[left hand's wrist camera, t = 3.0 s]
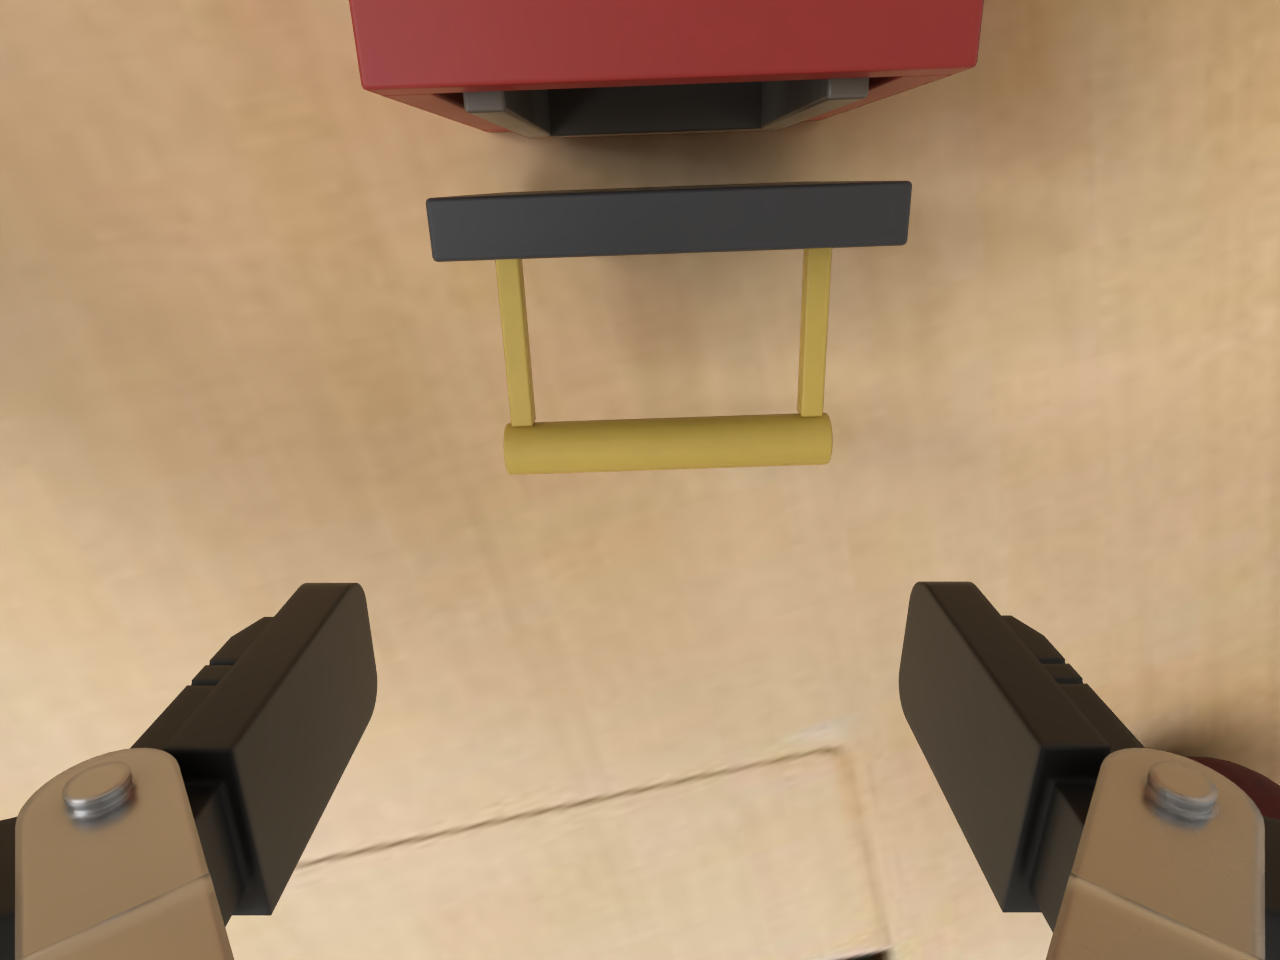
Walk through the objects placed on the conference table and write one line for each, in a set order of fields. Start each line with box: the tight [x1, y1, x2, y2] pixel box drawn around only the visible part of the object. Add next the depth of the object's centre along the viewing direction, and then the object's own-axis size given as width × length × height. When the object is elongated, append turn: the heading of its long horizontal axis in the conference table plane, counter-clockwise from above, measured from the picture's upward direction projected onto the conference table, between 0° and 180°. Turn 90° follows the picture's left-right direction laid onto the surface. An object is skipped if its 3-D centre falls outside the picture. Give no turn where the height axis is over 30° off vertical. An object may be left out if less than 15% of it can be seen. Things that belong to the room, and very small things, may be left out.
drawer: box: [426, 77, 912, 475], centre depth 18 cm, size 22×10×10 cm, turn 2°
